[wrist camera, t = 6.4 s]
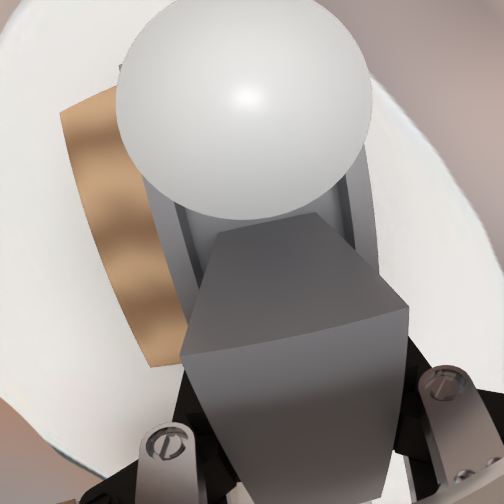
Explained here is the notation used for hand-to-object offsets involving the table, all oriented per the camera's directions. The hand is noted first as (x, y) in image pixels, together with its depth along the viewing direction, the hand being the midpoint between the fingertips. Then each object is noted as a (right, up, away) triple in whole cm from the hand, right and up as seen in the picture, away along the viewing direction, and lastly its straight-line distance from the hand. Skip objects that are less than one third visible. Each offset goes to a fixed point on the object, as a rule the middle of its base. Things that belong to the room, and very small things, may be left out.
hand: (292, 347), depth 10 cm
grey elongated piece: (0, +1, +4) cm, 4 cm away
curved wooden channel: (-9, +7, +20) cm, 23 cm away
